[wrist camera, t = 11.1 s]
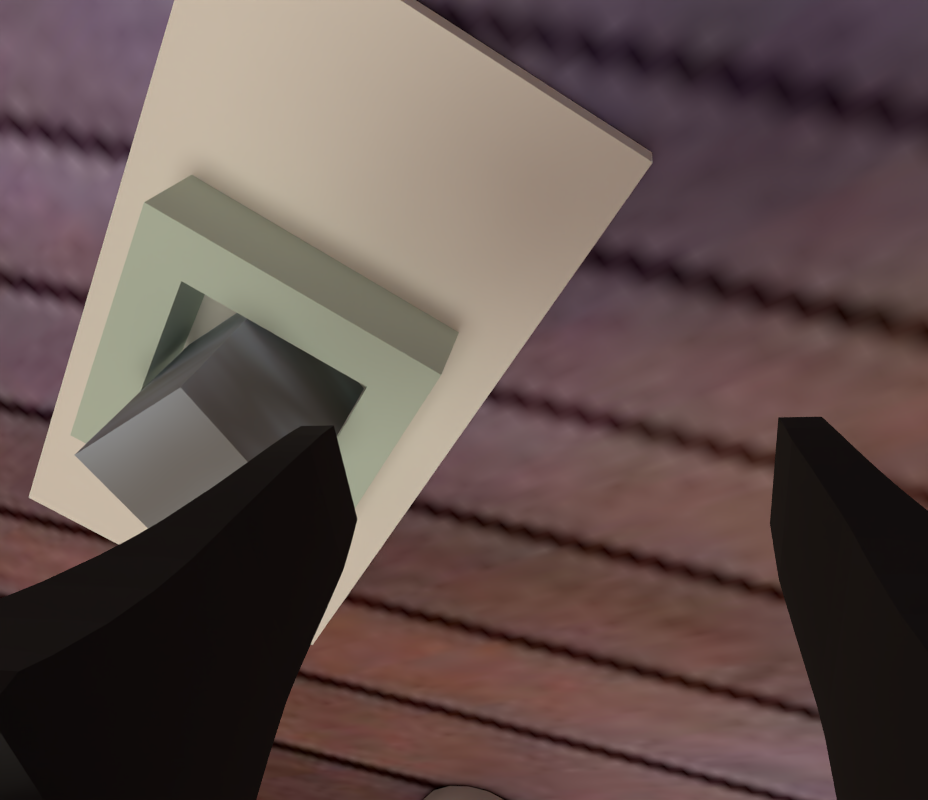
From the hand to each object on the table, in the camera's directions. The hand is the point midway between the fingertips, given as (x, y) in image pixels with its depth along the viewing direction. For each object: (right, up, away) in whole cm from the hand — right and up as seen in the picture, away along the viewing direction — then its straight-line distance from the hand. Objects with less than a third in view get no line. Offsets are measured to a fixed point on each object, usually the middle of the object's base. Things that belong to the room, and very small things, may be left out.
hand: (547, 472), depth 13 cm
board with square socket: (-7, +3, +12) cm, 14 cm away
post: (-7, +2, +11) cm, 14 cm away
